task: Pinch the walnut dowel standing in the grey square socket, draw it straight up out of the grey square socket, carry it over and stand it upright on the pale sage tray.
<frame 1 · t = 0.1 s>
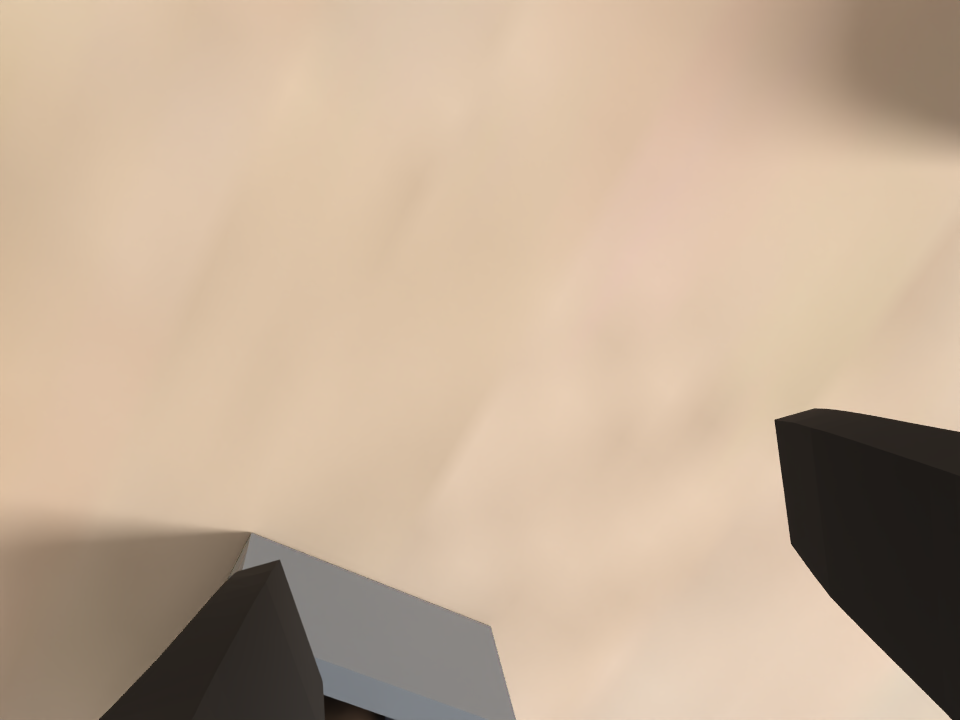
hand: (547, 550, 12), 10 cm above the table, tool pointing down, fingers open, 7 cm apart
dowel: (317, 700, 23), point 1 cm above the table, touching grey square socket
grey square socket: (318, 686, 23), on the table
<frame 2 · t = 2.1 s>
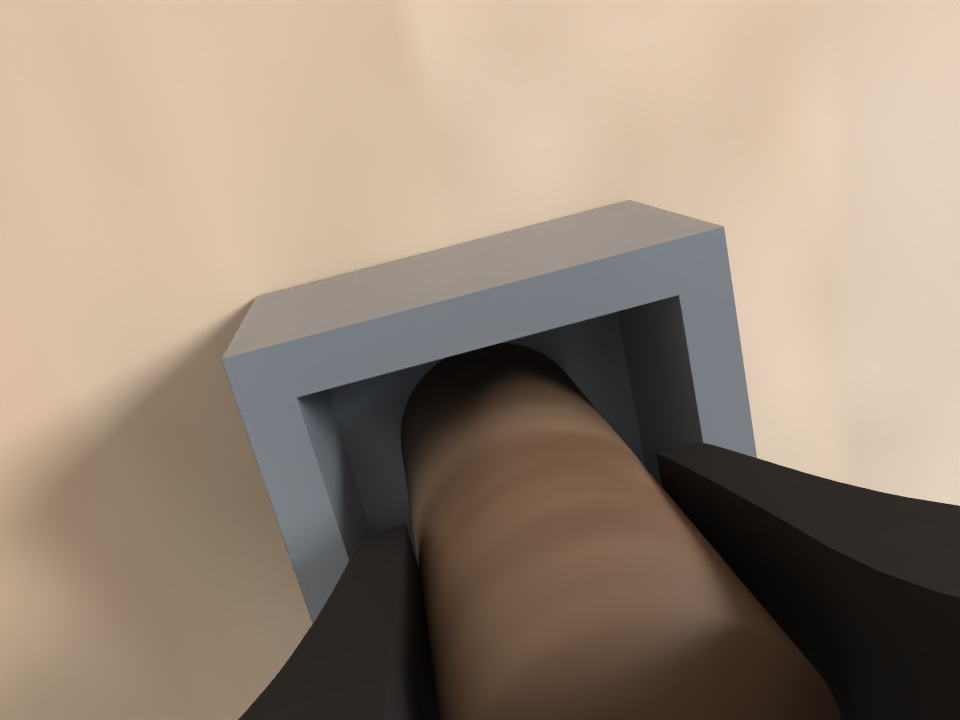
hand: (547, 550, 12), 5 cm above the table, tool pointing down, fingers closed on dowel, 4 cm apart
dowel: (494, 432, 16), point 1 cm above the table, touching grey square socket, gripper
grey square socket: (489, 422, 17), on the table
when the fingers open (6 cm above the table, at t = 6.1 s): dowel stays where it is, resting on tray.
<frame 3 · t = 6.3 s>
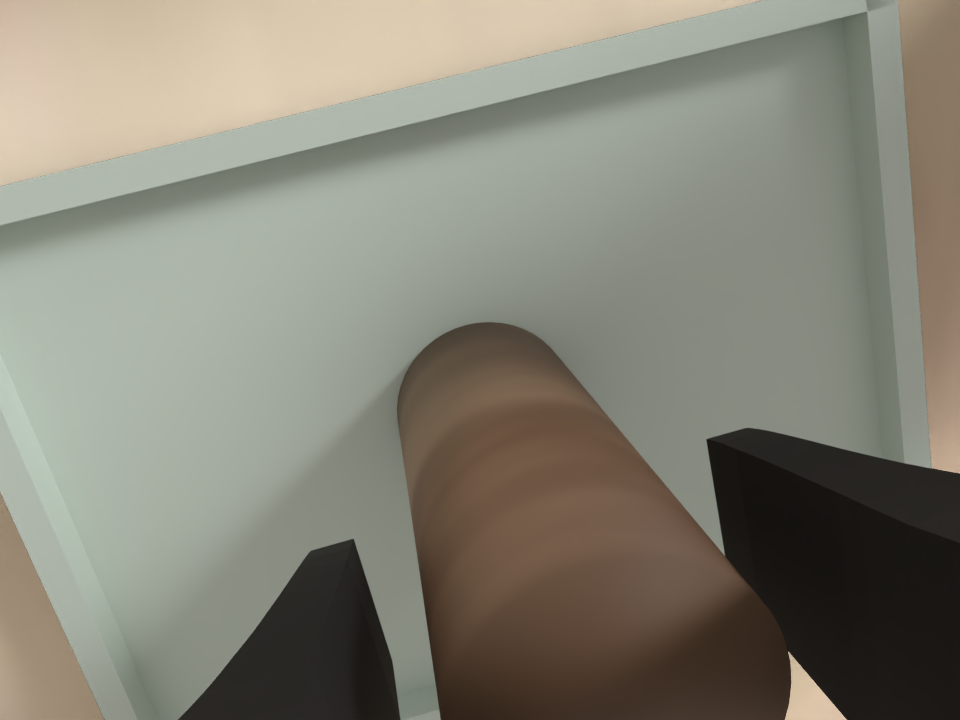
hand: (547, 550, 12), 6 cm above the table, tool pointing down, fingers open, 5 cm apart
tray: (480, 402, 18), on the table
dowel: (485, 408, 17), point 1 cm above the table, touching tray
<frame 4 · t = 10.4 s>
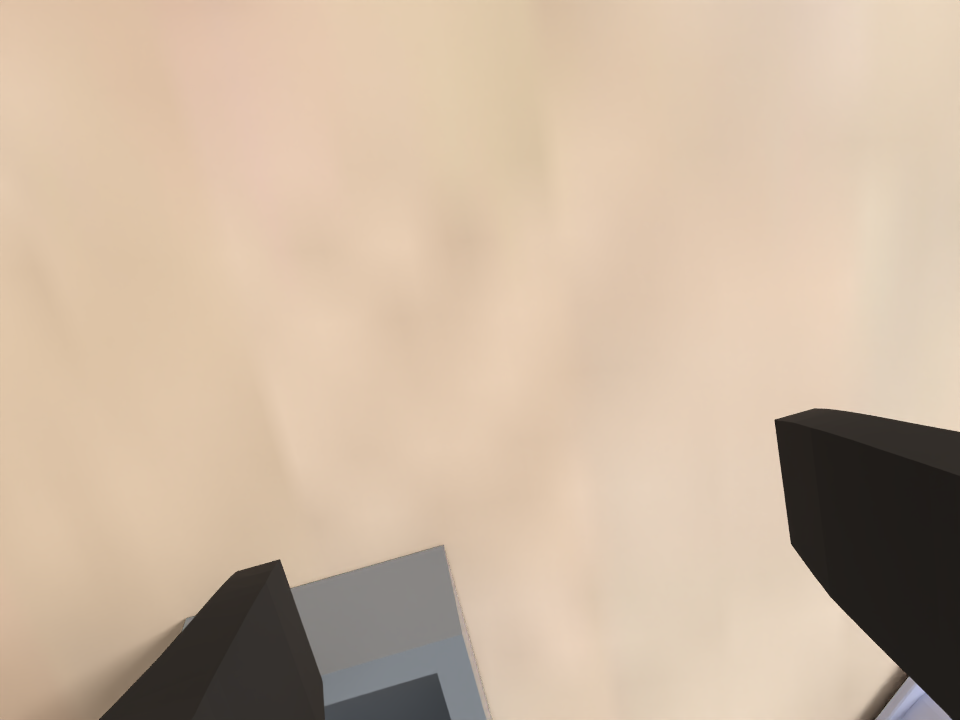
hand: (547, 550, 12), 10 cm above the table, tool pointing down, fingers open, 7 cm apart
grey square socket: (352, 687, 24), on the table
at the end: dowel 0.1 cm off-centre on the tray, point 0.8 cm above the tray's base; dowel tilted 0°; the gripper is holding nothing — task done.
